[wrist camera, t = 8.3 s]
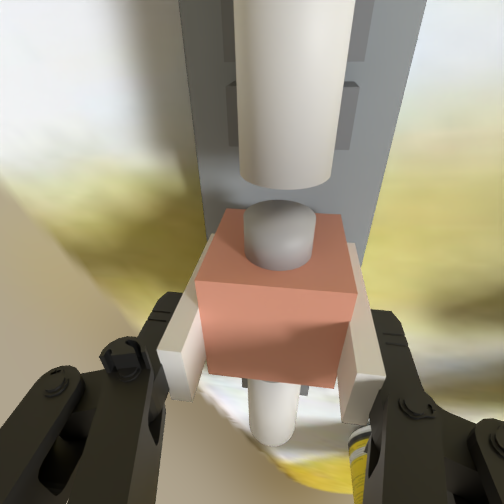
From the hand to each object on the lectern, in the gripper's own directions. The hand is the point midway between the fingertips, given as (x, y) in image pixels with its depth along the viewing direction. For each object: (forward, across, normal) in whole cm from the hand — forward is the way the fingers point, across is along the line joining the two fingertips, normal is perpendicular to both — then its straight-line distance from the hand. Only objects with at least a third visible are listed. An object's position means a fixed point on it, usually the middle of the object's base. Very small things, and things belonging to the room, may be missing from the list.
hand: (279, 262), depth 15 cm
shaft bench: (+3, 0, 0) cm, 3 cm away
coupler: (0, 0, 0) cm, 0 cm away
